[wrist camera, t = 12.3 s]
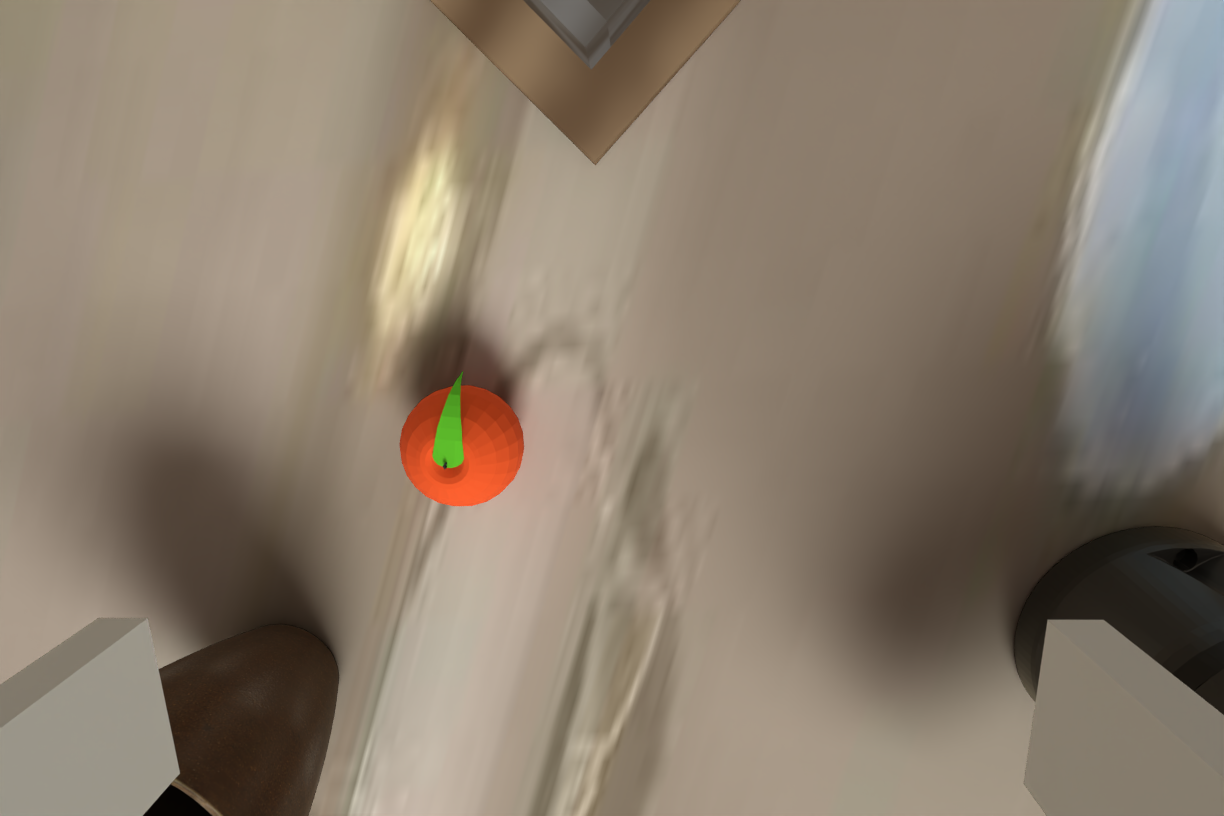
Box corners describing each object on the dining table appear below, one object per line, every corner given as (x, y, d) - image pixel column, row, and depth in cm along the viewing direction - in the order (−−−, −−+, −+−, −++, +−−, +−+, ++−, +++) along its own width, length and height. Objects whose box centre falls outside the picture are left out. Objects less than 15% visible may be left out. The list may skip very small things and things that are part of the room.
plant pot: (252, 788, 48) (66, 1046, 32) (137, 621, 45) (-126, 816, 29) (429, 720, 46) (323, 960, 30) (322, 540, 43) (143, 704, 28)
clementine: (424, 352, 40) (379, 373, 33) (537, 363, 40) (516, 387, 33) (421, 476, 42) (377, 520, 35) (529, 487, 42) (507, 534, 35)
